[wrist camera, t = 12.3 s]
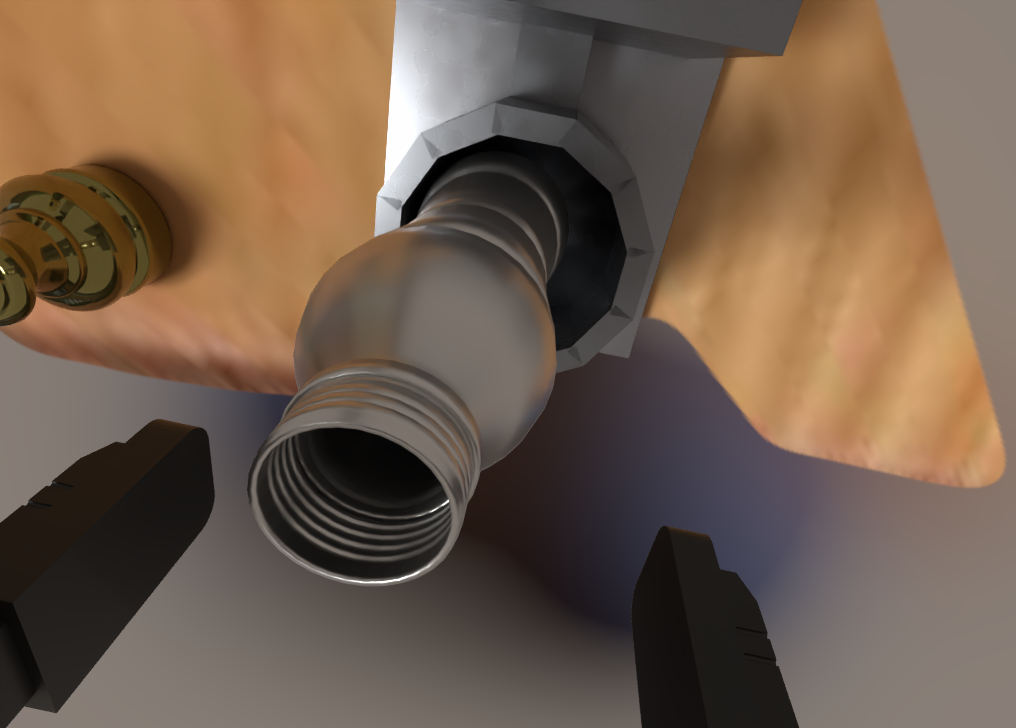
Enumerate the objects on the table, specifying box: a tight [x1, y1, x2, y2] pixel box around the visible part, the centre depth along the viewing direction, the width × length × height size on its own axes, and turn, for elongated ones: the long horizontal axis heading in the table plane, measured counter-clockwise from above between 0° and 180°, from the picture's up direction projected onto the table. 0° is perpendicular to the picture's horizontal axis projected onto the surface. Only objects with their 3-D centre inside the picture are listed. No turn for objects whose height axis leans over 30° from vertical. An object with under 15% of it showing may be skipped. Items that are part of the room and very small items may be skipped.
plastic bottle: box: [247, 151, 569, 586], centre depth 18 cm, size 6×7×20 cm
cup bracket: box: [374, 0, 803, 373], centre depth 23 cm, size 18×15×14 cm
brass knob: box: [0, 165, 171, 326], centre depth 29 cm, size 7×7×10 cm
